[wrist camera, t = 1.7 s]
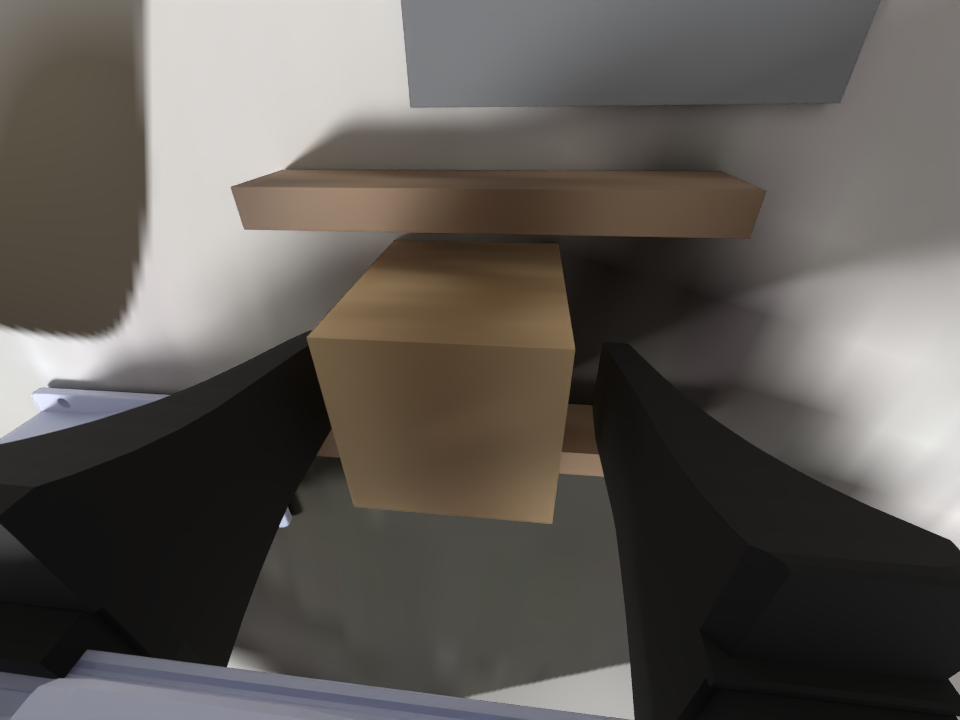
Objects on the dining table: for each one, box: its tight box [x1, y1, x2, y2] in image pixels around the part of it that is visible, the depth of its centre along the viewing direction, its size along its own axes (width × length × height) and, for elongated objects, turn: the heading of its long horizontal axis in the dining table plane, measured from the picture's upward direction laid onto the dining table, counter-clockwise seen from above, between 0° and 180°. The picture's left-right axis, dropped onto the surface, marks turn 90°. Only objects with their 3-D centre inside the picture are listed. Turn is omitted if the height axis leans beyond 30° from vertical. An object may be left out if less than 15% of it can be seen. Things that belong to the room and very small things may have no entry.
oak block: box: [306, 240, 575, 524], centre depth 11 cm, size 5×5×6 cm
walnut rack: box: [231, 170, 766, 477], centre depth 13 cm, size 12×9×2 cm
